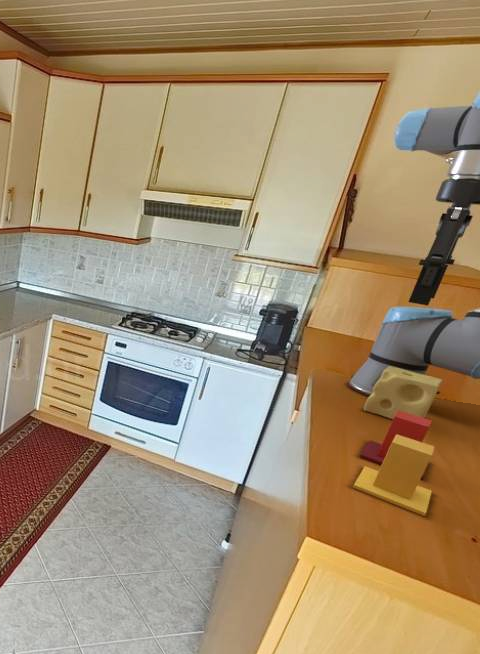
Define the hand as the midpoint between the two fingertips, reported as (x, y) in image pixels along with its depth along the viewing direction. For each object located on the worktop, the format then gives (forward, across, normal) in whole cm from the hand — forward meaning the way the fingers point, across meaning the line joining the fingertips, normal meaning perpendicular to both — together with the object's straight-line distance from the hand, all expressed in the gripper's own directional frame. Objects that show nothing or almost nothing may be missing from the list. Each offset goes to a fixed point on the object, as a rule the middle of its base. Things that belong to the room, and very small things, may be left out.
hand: (421, 300), depth 91 cm
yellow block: (+27, +25, +7) cm, 38 cm away
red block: (+27, +10, +6) cm, 30 cm away
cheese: (+29, -20, +3) cm, 35 cm away
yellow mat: (+28, +26, +7) cm, 38 cm away
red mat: (+28, +10, +6) cm, 30 cm away
